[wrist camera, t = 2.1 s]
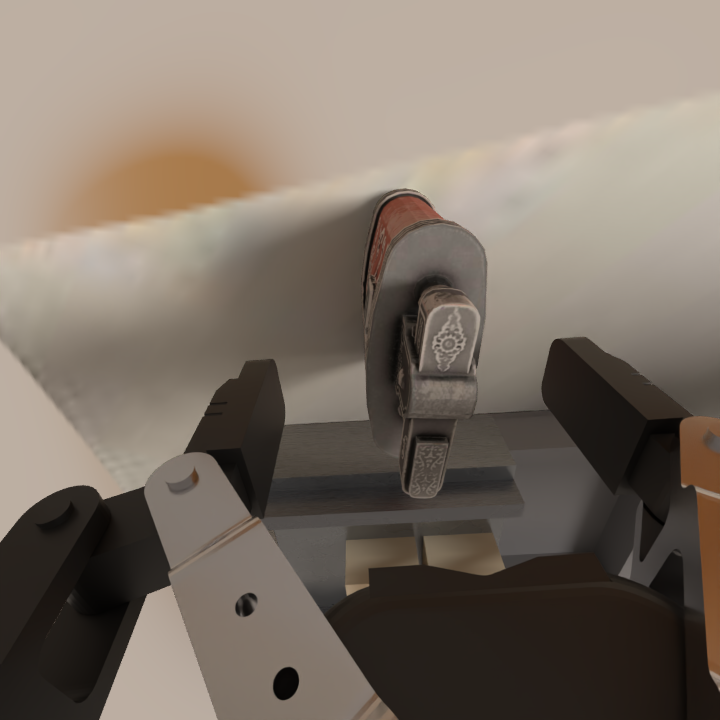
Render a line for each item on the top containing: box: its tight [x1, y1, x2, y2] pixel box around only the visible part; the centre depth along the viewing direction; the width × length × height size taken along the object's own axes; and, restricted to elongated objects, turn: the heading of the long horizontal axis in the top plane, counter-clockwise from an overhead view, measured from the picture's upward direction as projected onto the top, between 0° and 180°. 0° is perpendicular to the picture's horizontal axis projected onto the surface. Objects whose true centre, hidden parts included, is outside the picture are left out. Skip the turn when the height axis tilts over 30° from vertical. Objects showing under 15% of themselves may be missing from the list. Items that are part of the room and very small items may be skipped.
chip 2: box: [422, 533, 505, 575], centre depth 21 cm, size 4×4×2 cm
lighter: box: [361, 189, 487, 498], centre depth 13 cm, size 8×3×10 cm, turn 178°
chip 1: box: [345, 537, 419, 596], centre depth 21 cm, size 4×4×2 cm
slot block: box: [260, 414, 525, 614], centre depth 23 cm, size 13×15×6 cm
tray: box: [491, 410, 641, 579], centre depth 24 cm, size 10×15×3 cm
